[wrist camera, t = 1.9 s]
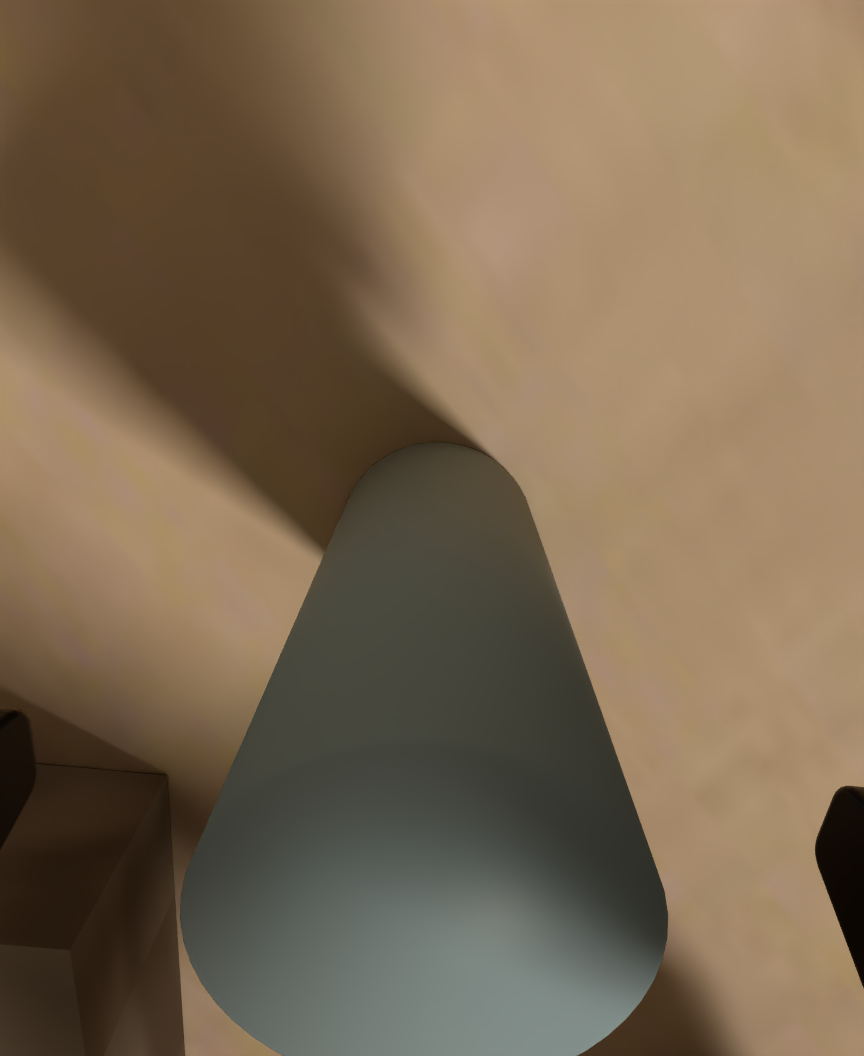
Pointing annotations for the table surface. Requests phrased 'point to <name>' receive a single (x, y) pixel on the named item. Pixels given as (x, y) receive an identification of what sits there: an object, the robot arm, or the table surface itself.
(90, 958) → the socket block
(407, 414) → the table surface
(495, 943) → the peg
